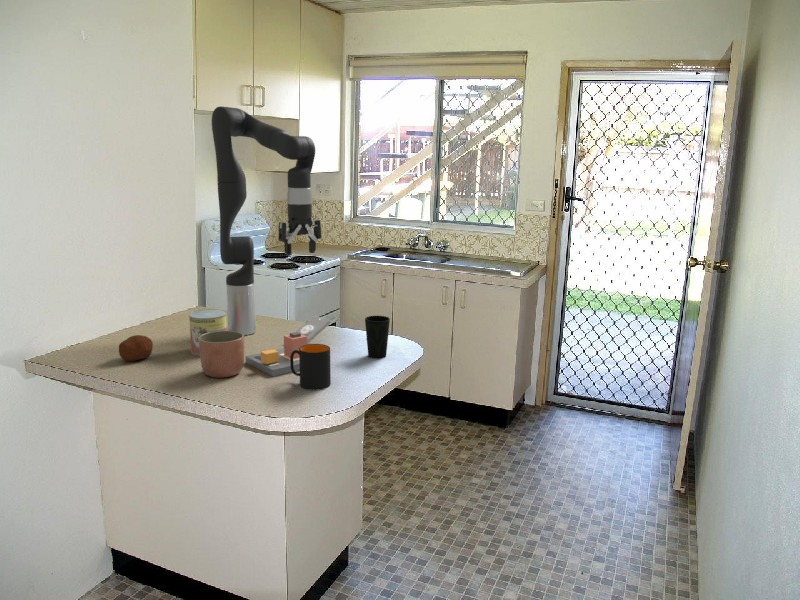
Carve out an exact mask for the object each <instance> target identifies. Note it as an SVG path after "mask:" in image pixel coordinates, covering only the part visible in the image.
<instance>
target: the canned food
mask: <svg viewBox="0 0 800 600" xmlns="http://www.w3.org/2000/svg"><path fill="white" fill-rule="evenodd" d="M188 316H189V319H188V320H189V334H190V352H191V354H192V355H194V356H199V357H200V350H199V339H198V338H199V336H201V335H202V334H205V333H209V332H214V331H228V318H227V311H225V310H221V309H201V310H196V311H192V312H189V314H188Z"/></svg>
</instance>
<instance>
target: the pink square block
mask: <svg viewBox="0 0 800 600" xmlns="http://www.w3.org/2000/svg"><path fill="white" fill-rule="evenodd" d="M304 345H308V344H307V336H305V335H302V334H301V333H298V332H296V331H294V332H289V334H286V335H283V348H284V355H285V356H288V357H290V356H291V353H292V352H293V351H294V350H298V351H299V348H300V347H301V346H304ZM295 358H299V354H298V353H295V354H294V356H293V359H295Z"/></svg>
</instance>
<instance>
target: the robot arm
mask: <svg viewBox="0 0 800 600" xmlns="http://www.w3.org/2000/svg"><path fill="white" fill-rule="evenodd" d="M211 131H212V135H213V136H212V137H213V143H214V144H213V145H214V150H215V161H216V162H215V163H216V173H217V175H216V177H217V179H216V180H217V181H216V182H217V195H218V196H217V198H218V206H219V207H218V208H219V253H220V254H219V255H220V259H221V262H222V264H224V265H242V266H241V268H239V269H238V270H236V271H234V272H232V273H229V274H227V275H226V278H225V282H226V284H225V285H226V313H227V314H226V317H227V331H236V332H240V333H242V334H243V335H244V336H249V335H252V334H255V333H256V331H257V330H256V329H257V328H256V327H257V326H256V301H255V300H256V299H255V277H254V276H255V275H254V272H255V271H254V267H255V266H254V259H255V252H254V251H255V247H254V242H253V239H252V237H251V236H247V235H246V236H245V235H244V236H231V231H232V227H233V224H234V222H235V219H236V218H237V216H238V214H239V212H240V210H241V209H242V207H243V206H244V203H245V202H246V200H247V196H248V195H247V194H248V193H247V179H246V178H247V177H246V175H245V172H244V169H243V168H242V166H241V164H240V163H239V161H238V159H237V157H236V155H235V153H234V149H233V144H232V137H233V138H238V137H242V138H243V137H245V138H250V139H252V140H253V139H254V140H255V141H256V142H257V143H258V144H259V145H261V146H262V147H263V148H264V147H265V148H267V149H269V150H271V151H274V152H276V153H277V154H278V155H280V156H282V158H284V159H287V160H293V161H296V163H295V166H294V167H291V168H289V169H288V171H287V193H286V198H287V199H286V203H287V206H286V207H287V218H288V219H287V222H284V221H279V222H278V238H277V239H278V241H279V242H282V243H284V253H285V254H286V255H287V256H292V254H293V253H292V241H293V240H294V239H295V238H296V236H301V235H302V236H306V237H307V238H308V240H309V241H308V251H309V253H310V254H315V253H316V249H317V243H316V242H317V240H319V239H320V240H321V239H322V228H321V227H322V226H321V225H322V224H321V220H319V219H313V220H312V217H313V197H312V189H311V182H312V181H311V174H312V173H311V172H312V169H313V166H314V161H315V157H316V146H315V142H314V140H313V139H312V138H311V137H309V136H304V135H296V136H295V135H291V134H290V133H289V132H288V131H286V130H285V129H282V128H280V127H277V126H274V125H272V124H269V123H267V122H266V123H265V122H262V121H260V120H259V119H258V118H256V117H254V116H252V115H250V114H249V113H248V112H246V111H245V110H243V109H241V108H238V107H229V106H216V107H215V108H214V110H213V111H212V114H211ZM311 227H313V230H312V229H311ZM287 229H288V230H287Z"/></svg>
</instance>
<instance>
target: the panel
mask: <svg viewBox="0 0 800 600" xmlns="http://www.w3.org/2000/svg"><path fill="white" fill-rule="evenodd" d="M275 350H276V351H278V359H279V362H274V363H270V364H265V363H263V362H261V352H260V353H255V354H250V355H249V354H248V355H244V358H245V364H247V365H250V366H251V367H254V368H255V369H257V370H259V371H260V372H263V373H265V374H267V375H269V376H271V377H277V376H282V375H286V374H291V373H293V372H292V370H291V366H290V357H288V356H285V355H284V347H283V348H278V349H275ZM293 367H294V370H295V372H298V371H299V372H300V362H299V358H295V359H293Z"/></svg>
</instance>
